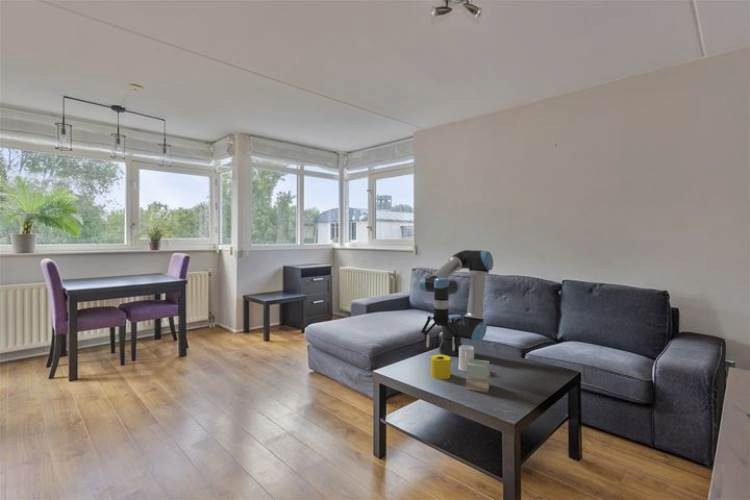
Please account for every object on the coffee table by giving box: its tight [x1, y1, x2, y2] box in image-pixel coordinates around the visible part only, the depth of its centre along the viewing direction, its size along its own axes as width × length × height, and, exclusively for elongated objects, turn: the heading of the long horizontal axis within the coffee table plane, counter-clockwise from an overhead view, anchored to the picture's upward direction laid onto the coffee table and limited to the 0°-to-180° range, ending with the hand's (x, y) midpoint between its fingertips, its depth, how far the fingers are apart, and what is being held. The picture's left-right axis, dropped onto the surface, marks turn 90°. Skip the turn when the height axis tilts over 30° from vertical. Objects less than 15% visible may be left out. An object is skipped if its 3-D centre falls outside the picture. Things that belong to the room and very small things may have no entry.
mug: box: [457, 344, 475, 373], centre depth 201 cm, size 12×8×12 cm
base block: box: [465, 372, 491, 394], centre depth 179 cm, size 10×10×6 cm
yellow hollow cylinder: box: [430, 354, 451, 380], centre depth 194 cm, size 10×10×9 cm
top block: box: [466, 358, 490, 380], centre depth 179 cm, size 9×9×6 cm
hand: (440, 348), depth 193 cm, fingers open, 13 cm apart
